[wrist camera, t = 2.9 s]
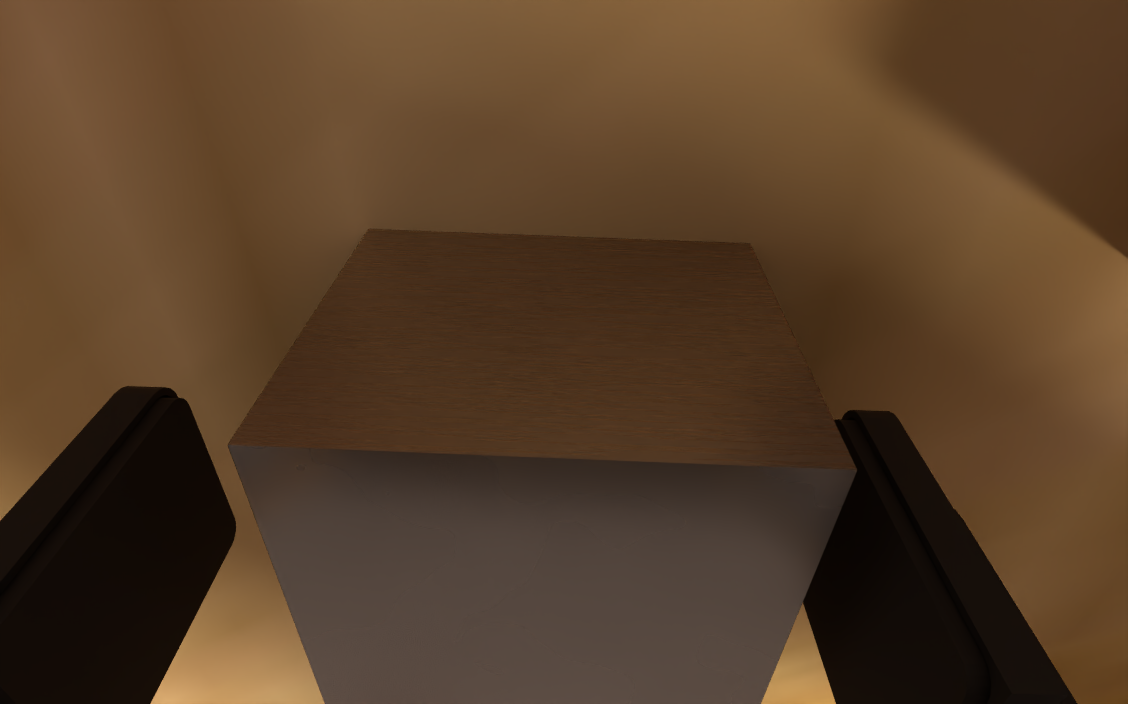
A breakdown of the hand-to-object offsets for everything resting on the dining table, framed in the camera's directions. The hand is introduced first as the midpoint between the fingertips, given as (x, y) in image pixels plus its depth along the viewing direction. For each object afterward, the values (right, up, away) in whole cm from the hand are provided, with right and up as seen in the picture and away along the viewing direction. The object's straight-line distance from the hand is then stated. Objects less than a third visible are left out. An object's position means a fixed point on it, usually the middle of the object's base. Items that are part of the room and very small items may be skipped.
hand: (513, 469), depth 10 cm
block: (+1, +1, +2) cm, 3 cm away
